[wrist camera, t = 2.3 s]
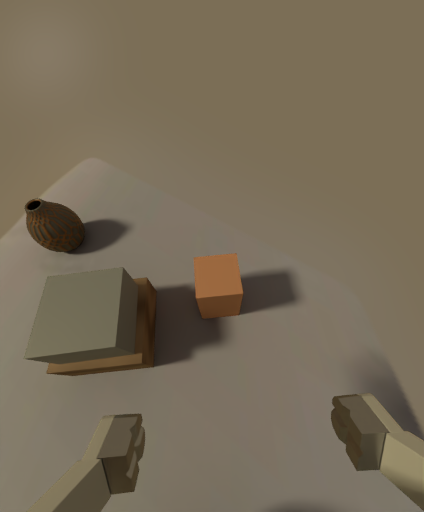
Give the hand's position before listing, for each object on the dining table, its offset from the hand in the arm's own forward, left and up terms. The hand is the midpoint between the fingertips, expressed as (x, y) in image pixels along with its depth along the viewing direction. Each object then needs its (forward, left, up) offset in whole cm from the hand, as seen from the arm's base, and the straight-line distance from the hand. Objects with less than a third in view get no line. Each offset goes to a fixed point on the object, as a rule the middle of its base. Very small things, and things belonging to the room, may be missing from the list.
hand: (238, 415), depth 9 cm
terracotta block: (+12, 0, -19) cm, 22 cm away
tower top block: (+9, +14, -14) cm, 22 cm away
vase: (+25, +24, -19) cm, 39 cm away
